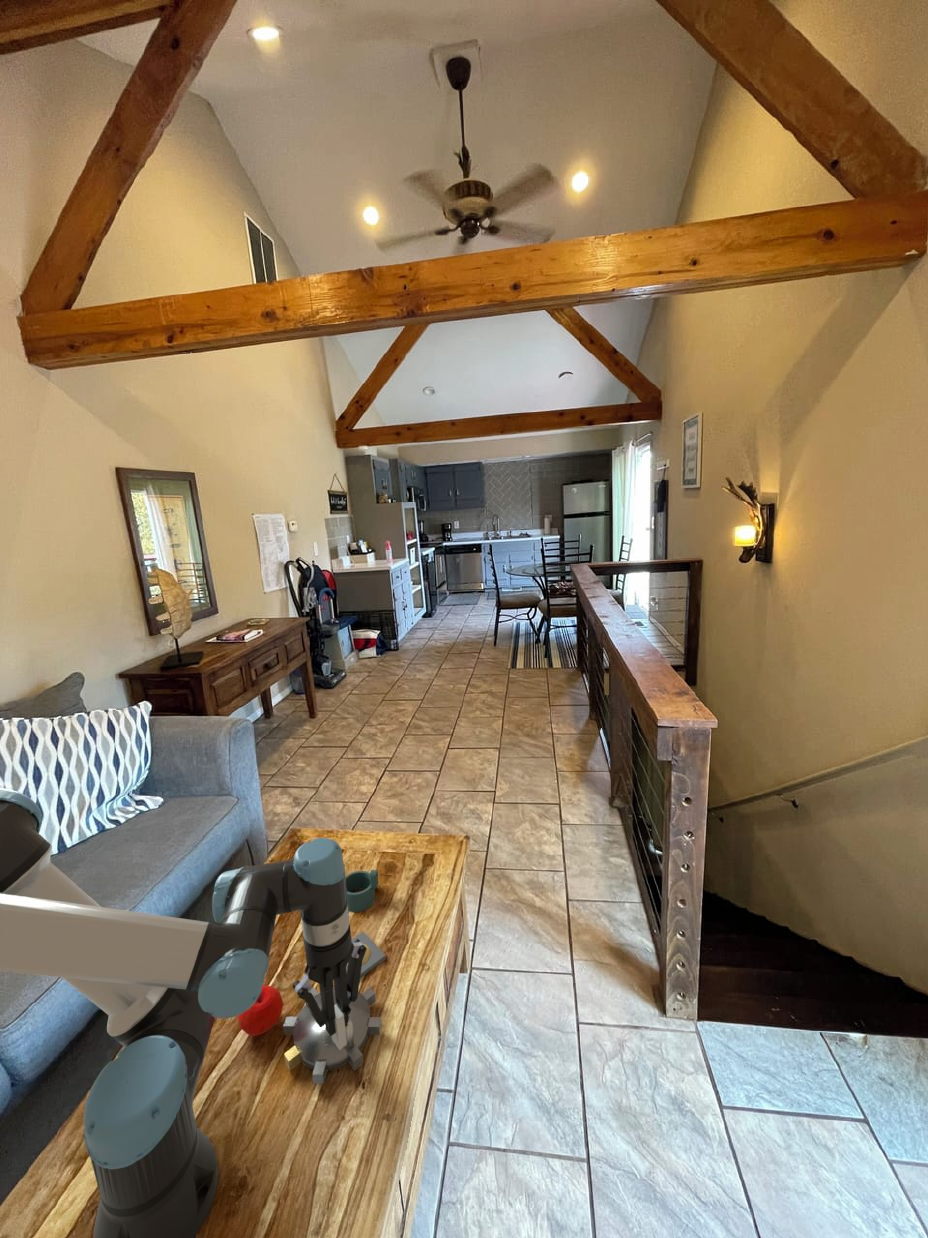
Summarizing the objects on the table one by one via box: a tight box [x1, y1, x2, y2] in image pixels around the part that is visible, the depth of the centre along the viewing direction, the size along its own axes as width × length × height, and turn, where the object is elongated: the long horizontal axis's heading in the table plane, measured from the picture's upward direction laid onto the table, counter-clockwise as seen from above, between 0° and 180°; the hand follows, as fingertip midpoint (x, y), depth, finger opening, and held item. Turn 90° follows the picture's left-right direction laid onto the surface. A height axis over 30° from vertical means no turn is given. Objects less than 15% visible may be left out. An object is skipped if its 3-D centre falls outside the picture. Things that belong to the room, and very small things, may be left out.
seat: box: [346, 931, 387, 979], centre depth 111 cm, size 9×9×1 cm
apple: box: [237, 985, 284, 1037], centre depth 96 cm, size 8×8×7 cm
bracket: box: [345, 869, 379, 913], centre depth 128 cm, size 9×9×9 cm
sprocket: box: [282, 986, 382, 1085], centre depth 94 cm, size 18×18×7 cm
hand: (339, 1041), depth 89 cm, fingers closed
